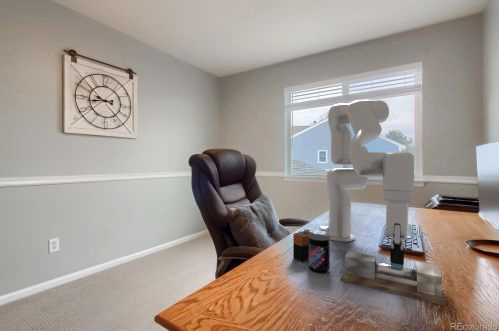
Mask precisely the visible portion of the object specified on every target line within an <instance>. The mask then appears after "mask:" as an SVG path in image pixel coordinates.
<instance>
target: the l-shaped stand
mask: <svg viewBox="0 0 499 331" xmlns="http://www.w3.org/2000/svg"><path fill="white" fill-rule="evenodd" d="M394 241H395V240H394ZM400 242H401V241H400ZM404 244H405V243H404V242H403V250H404V251H405V248H404V247H405V246H404ZM375 273H378V274H383V275H387V276H392V277H397V278H401V279H406V280H411V281H416V282H417V270H416V269H414V268H408V267H404V265H400V264H395V263H391V262H390V264H387V263H382V262H377V261H376V262H375Z"/></svg>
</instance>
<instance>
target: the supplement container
mask: <svg viewBox="0 0 499 331" xmlns="http://www.w3.org/2000/svg"><path fill="white" fill-rule="evenodd" d="M330 259H331V240H330V237H328V236H326V235H325V234H322V233H314V234H312V235H309V236H308V260H307V265H308V266H307V267H308V269H309V271H311V272H312V273H315V274H326V273H328V272H329V271H330V269H331V268H330V267H331V266H330V264H331V261H330Z"/></svg>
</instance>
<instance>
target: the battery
mask: <svg viewBox="0 0 499 331" xmlns="http://www.w3.org/2000/svg"><path fill="white" fill-rule="evenodd" d="M312 234H315V233H314V232H311V230H310V229H307V228H305V229H303V230H302V231H301V230H300V231H298V232H295V233H293V235H292V236H293V238H292V239H293V245H292V246H293V250H292V252H293V255H292V256H293V259H294V260H296V261H298V262H301V263H303V262H308V236H309V235H312Z"/></svg>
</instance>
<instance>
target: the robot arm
mask: <svg viewBox="0 0 499 331" xmlns="http://www.w3.org/2000/svg"><path fill="white" fill-rule="evenodd" d="M389 114H390V108H389V105H388V104H387V103H386V102H385V101H384V100H380V99H357V100H354V101H352V102H350V103H347V102H346V103H337V104H333V105H332V106H331V107H330V108H329V110H328V114H327V122H328V127H329V130H330V139H331V140H330V161H331V163H332V164H333V165H334V166H335V165H336V166H352V168H349V167H348V168H347V167H345V168H344V167H342V168H341V167H336V168H331V169H330V170H329V171H328V172H327V174H326V183H327V188H328V226H327V225H326V226H324V225H320V226H319V228H318V229H319V231H320V232H325V233H324V235H326V236H328V237H330V241H336V242H342V243H344V242H348V243H349V242H352V241H354V240H355V235H354V234H352V199H351V196H350V195H349V194H348V192H347V191H346V190H363V189H365V188H366V187H367V186H368V183H369V177H381V178H382V202H385V203H386V204H385V205H386V206H385V237H386V238H387V239H388V238H389V237H391V240H390V247H389V248H390V249H389V250H390V251H389V252H390V253H389V254H390V255H389V257H390V258H389V262H390V264H391V263H395V264H400V265H403V266H404V264H405V249H404V250H403V243H404V241H405V240H406V239H407V235H408V225H409V204H414V202H415V200H414V196H415V155H414V154H413V153H411V152H408V151H407V152H406V151H402V152H401V151H398V152H397V151H392V152H377V151H376V152H374V151H373V152H370V151H369V150H368V148H367V147H366V146H365V144H369V143H371V142H372V141H375V140H376V139H377V138H378V137H379V136H380V135H381V133H382V130H383V129H382V126H381V123H384V122H386V121H387V119H388V118H389ZM346 124H347V125H349V124H350V125H351V128H352V130H353V133H354V136H353V137H352V132H351V130H350V128H349V127H348V126H347V125H346ZM394 240H395V241H394ZM400 241H401V242H400Z"/></svg>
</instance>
